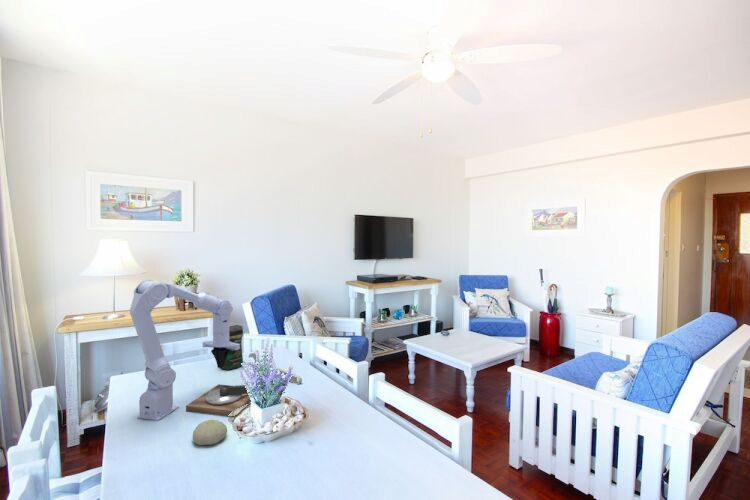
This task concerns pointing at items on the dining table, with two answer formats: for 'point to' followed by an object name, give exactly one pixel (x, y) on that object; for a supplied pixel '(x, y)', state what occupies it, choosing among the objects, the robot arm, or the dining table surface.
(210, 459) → the dining table surface
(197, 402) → the dial base
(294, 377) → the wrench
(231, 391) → the dial
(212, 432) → the sea urchin shell
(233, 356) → the coffee jar
